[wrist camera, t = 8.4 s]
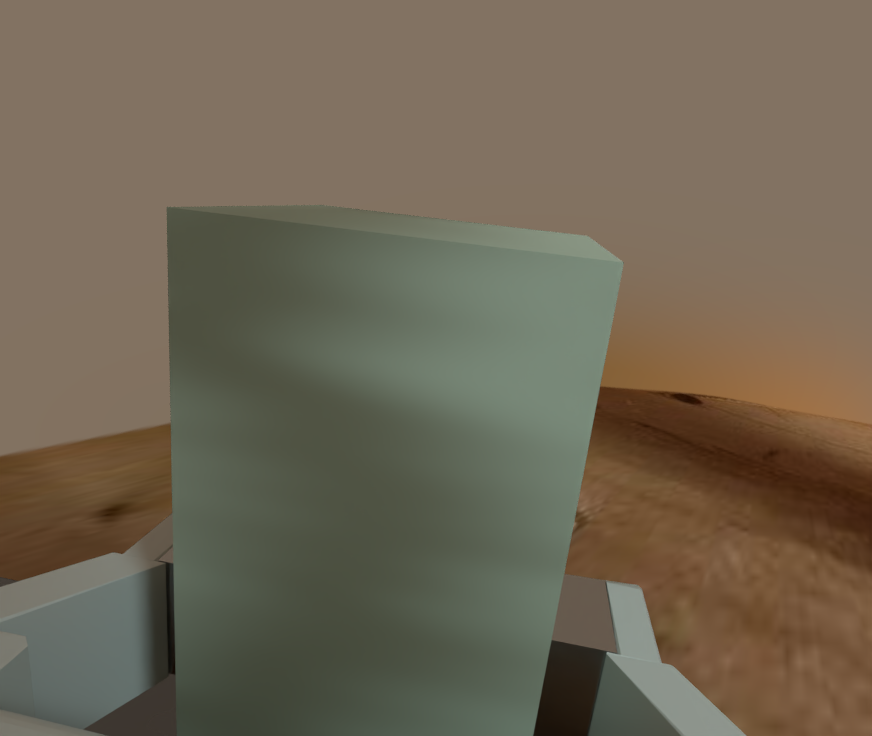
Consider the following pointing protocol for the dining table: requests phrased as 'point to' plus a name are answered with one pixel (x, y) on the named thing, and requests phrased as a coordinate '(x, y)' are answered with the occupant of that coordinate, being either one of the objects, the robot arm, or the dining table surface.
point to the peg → (374, 465)
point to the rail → (139, 710)
